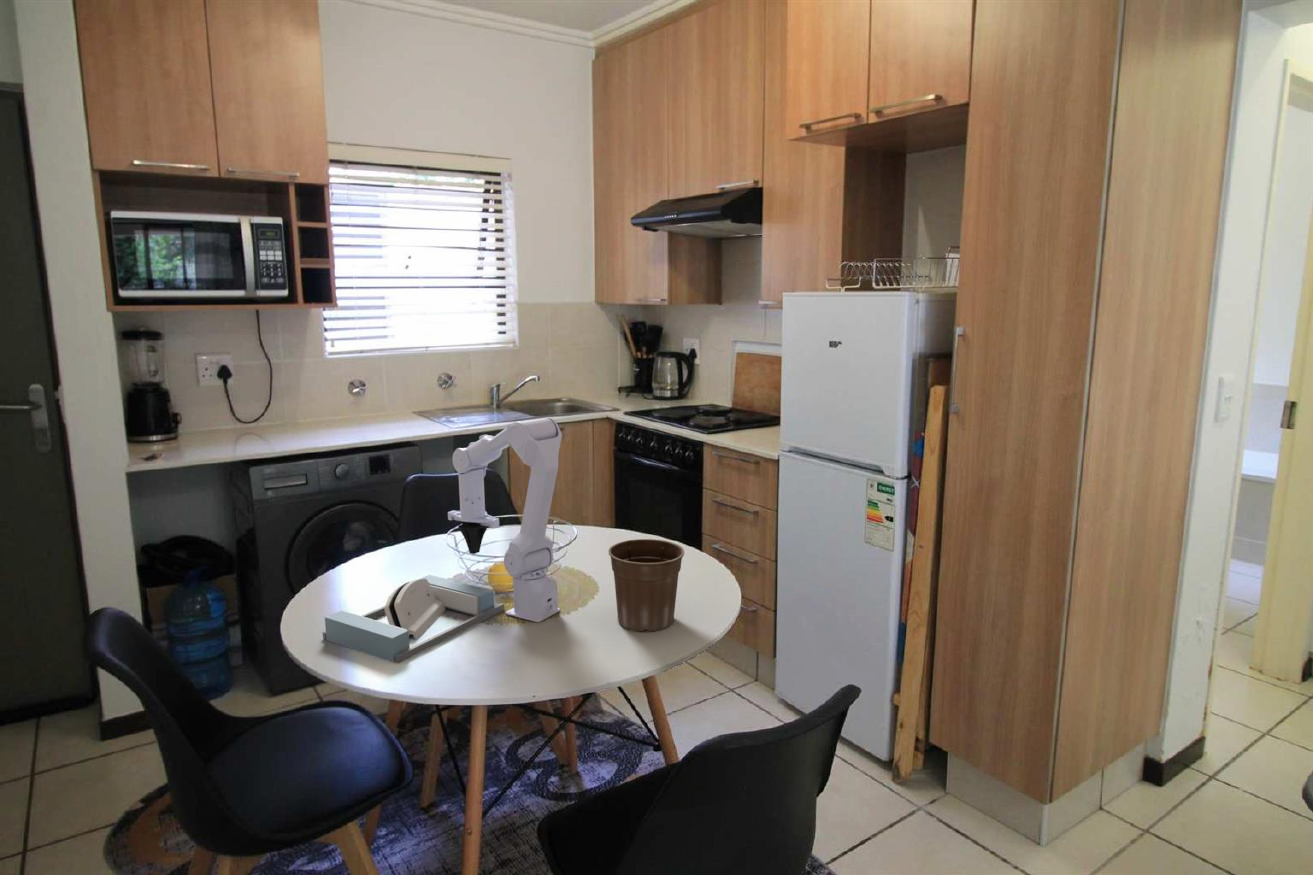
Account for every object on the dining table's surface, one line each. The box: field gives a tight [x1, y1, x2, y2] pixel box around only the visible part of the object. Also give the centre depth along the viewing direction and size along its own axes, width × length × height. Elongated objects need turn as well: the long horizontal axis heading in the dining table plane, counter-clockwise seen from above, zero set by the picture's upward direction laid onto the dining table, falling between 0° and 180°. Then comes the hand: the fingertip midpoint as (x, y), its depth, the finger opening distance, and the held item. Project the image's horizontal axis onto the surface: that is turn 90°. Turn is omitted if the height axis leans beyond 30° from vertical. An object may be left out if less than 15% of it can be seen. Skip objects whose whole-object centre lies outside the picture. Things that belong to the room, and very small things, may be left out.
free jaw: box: [419, 574, 495, 617], centre depth 179 cm, size 20×4×5 cm, turn 59°
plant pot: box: [607, 538, 685, 632], centre depth 170 cm, size 16×16×16 cm
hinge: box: [384, 578, 447, 641], centre depth 170 cm, size 17×5×10 cm, turn 174°
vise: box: [322, 603, 505, 664], centre depth 170 cm, size 22×30×5 cm
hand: (474, 552), depth 188 cm, fingers closed
